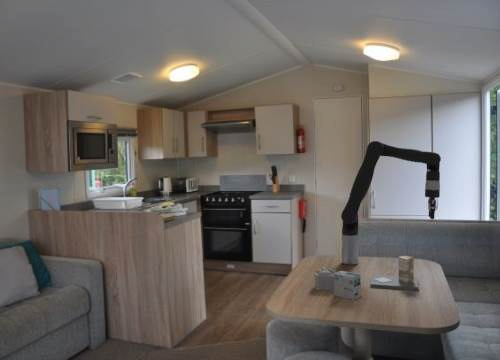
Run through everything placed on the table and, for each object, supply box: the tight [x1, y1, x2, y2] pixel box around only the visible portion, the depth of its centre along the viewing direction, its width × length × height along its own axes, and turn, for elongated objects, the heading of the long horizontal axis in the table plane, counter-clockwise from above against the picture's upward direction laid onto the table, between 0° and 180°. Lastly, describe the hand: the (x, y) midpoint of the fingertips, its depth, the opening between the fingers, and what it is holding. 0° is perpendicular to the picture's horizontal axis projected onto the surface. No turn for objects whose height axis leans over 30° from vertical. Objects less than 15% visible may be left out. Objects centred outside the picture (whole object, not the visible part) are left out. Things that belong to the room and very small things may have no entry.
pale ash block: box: [397, 255, 415, 283], centre depth 212 cm, size 5×5×12 cm
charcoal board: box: [369, 274, 420, 292], centre depth 214 cm, size 22×16×2 cm
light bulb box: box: [333, 270, 362, 301], centre depth 198 cm, size 11×7×11 cm, turn 47°
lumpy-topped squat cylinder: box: [314, 267, 337, 291], centre depth 214 cm, size 10×13×9 cm
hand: (431, 217), depth 238 cm, fingers open, 8 cm apart
